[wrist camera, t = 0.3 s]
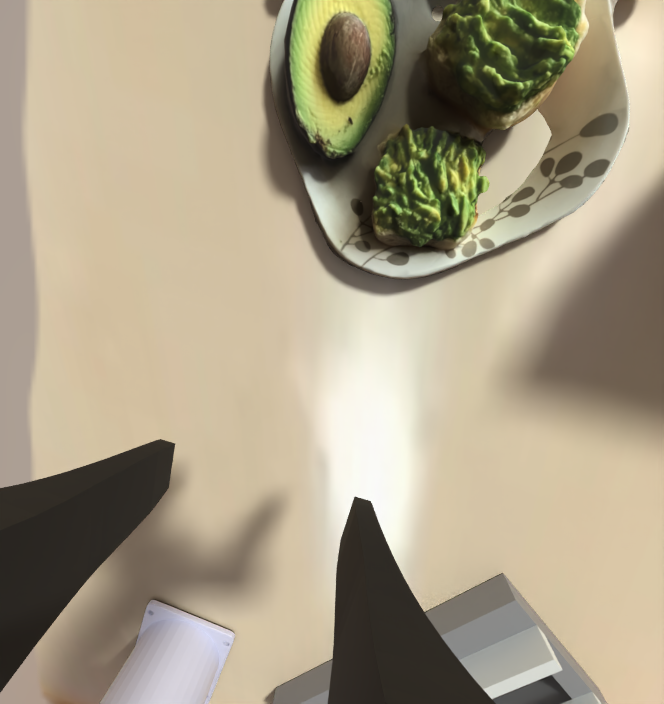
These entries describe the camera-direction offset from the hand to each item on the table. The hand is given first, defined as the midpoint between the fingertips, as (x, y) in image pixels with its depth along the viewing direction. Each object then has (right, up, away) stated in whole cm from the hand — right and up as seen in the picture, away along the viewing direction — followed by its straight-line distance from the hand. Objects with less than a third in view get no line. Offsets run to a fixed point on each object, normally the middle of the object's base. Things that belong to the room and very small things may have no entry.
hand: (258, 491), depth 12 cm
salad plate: (+8, +19, +6) cm, 21 cm away
